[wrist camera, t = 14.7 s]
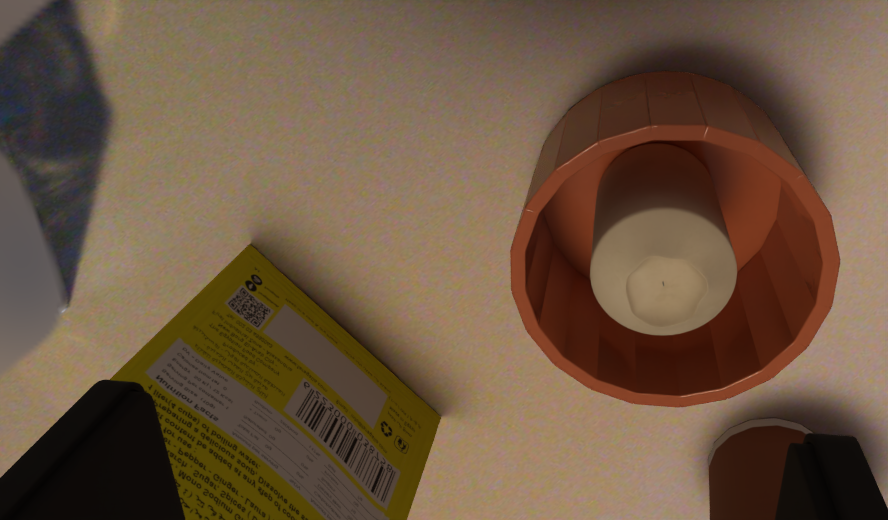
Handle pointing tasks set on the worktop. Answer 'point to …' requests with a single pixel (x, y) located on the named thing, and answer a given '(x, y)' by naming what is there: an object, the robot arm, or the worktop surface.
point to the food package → (279, 407)
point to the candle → (660, 242)
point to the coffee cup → (750, 468)
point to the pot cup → (748, 224)
